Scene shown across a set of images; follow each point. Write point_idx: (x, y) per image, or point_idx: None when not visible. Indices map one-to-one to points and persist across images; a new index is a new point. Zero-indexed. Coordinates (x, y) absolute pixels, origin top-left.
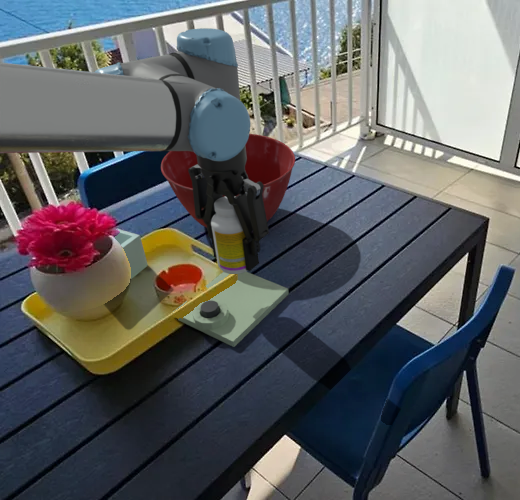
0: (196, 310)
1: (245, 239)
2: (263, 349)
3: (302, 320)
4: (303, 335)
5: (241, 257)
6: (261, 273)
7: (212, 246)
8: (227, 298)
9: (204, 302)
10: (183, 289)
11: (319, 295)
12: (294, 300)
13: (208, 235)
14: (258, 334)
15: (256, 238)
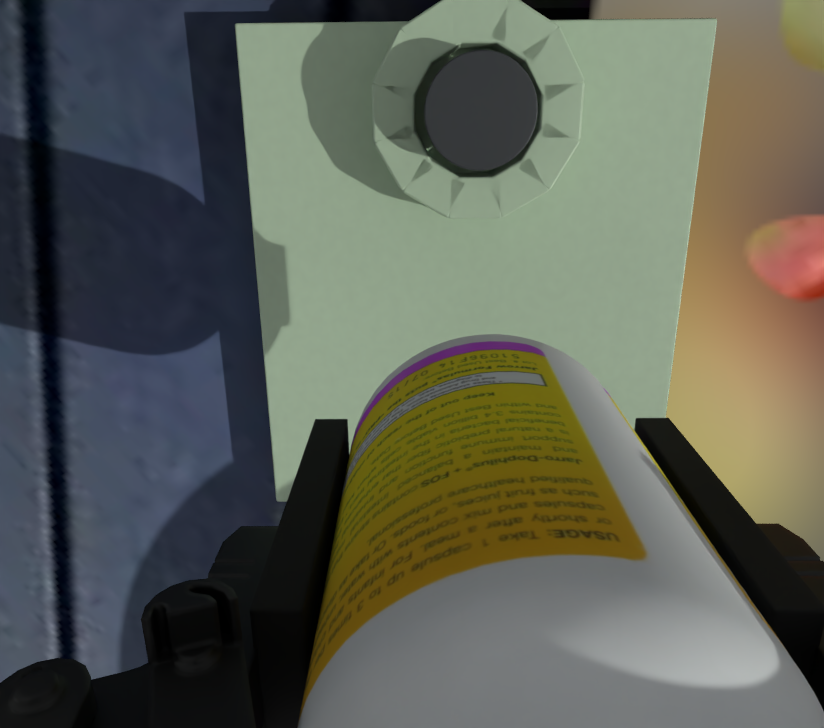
0: (558, 68)
1: (233, 622)
2: (112, 105)
3: (104, 372)
4: (28, 293)
5: (354, 465)
6: None
7: (705, 468)
8: (500, 286)
9: (532, 122)
10: (796, 242)
11: (159, 542)
12: (231, 462)
13: (804, 542)
14: (209, 180)
15: (32, 685)
